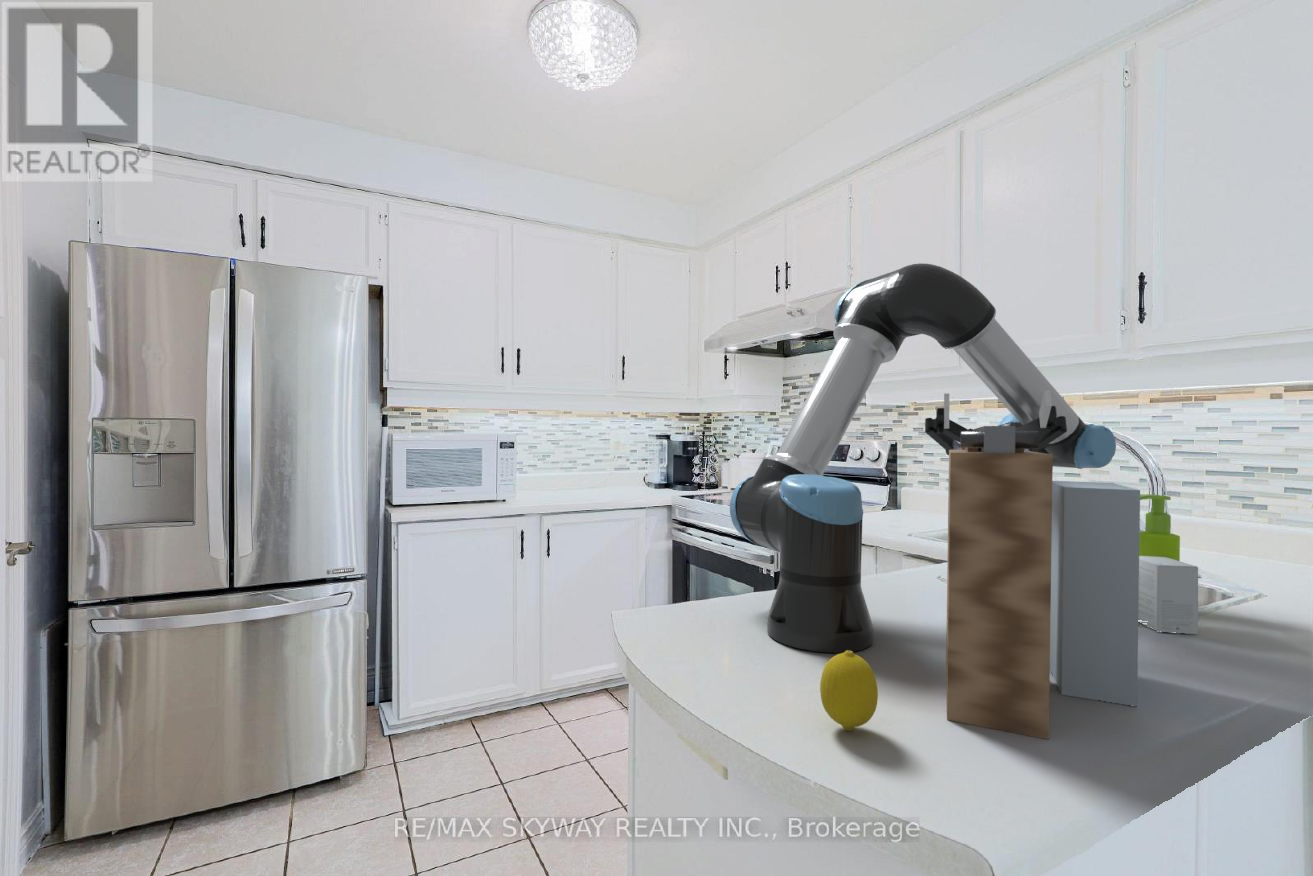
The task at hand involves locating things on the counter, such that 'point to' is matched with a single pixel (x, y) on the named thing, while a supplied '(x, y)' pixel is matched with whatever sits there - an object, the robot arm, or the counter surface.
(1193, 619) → the small box
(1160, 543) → the soap dispenser
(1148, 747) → the counter surface
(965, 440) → the dark grey bar
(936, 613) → the counter surface
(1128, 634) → the block
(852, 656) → the lemon
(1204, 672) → the counter surface
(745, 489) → the robot arm
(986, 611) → the walnut stand
